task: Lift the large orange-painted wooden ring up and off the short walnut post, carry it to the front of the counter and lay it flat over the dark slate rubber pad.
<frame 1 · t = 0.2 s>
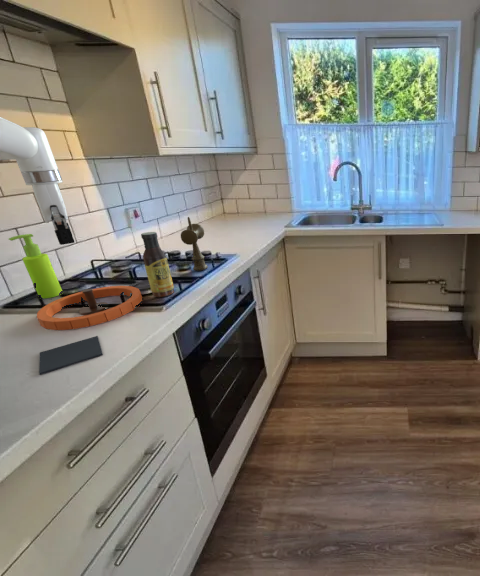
hand: (66, 240, 103), 20 cm above the countertop, tool pointing down, fingers open, 9 cm apart
soap dispenser: (49, 296, 117), on the countertop
pad: (71, 354, 84), on the countertop
ring: (94, 309, 106), on the countertop
kendama: (201, 270, 136), on the countertop
post: (94, 309, 106), on the countertop
sauce bottle: (164, 294, 115), on the countertop
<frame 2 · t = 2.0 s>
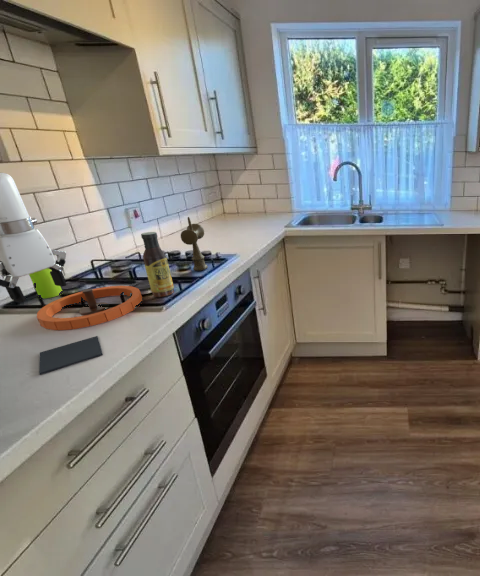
hand: (41, 292, 92), 10 cm above the countertop, tool pointing down, fingers open, 9 cm apart
nothing on the countertop moved.
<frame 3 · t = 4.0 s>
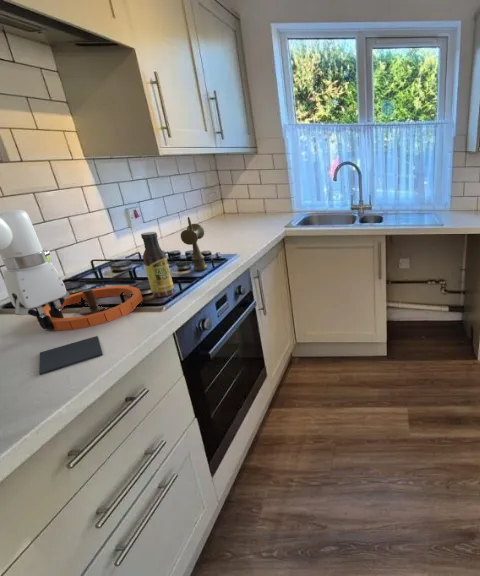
hand: (54, 326, 96), 1 cm above the countertop, tool pointing down, fingers closed on ring, 2 cm apart
ring: (95, 309, 106), on the countertop, touching gripper
everything else where it was.
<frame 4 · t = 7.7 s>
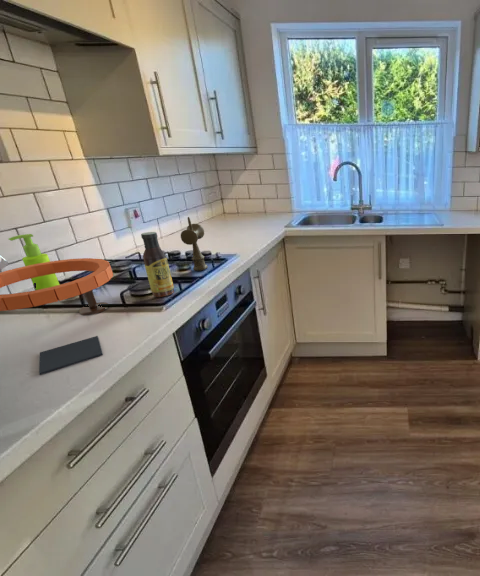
ring: (46, 286, 79), point 16 cm above the countertop, touching gripper
everything else where it was.
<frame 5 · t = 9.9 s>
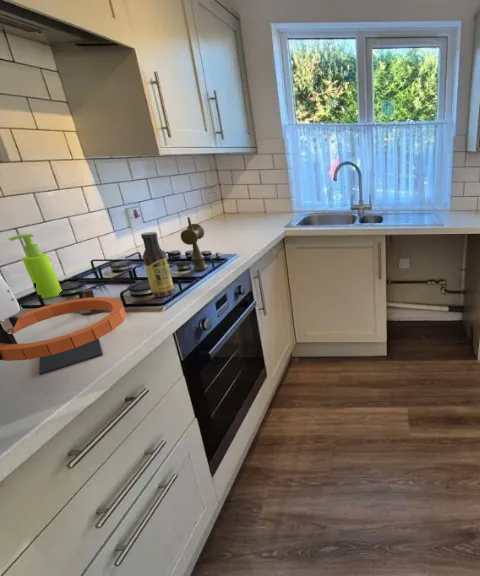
hand: (3, 354, 71), 7 cm above the countertop, tool pointing down, fingers closed on ring
ring: (62, 329, 81), point 7 cm above the countertop, touching gripper
everything else where it was.
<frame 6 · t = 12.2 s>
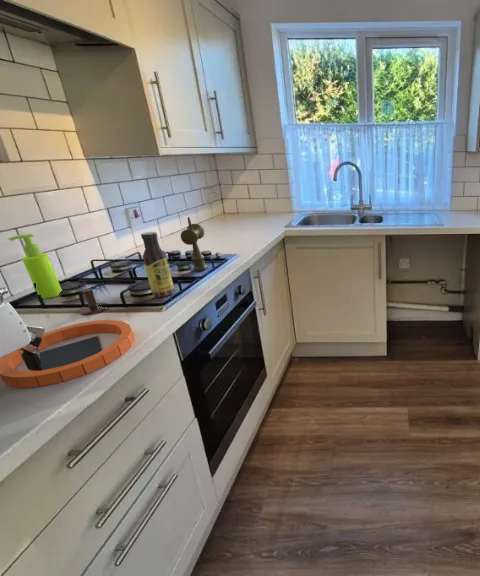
hand: (12, 381, 73), 1 cm above the countertop, tool pointing down, fingers open, 7 cm apart
ring: (73, 354, 84), on the countertop
everything else where it was.
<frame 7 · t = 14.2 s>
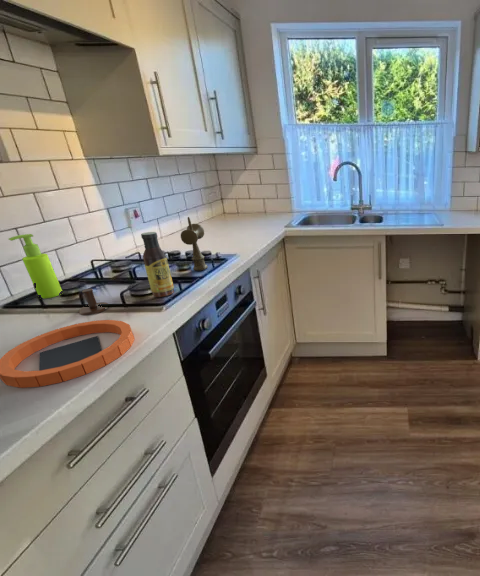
nothing on the countertop moved.
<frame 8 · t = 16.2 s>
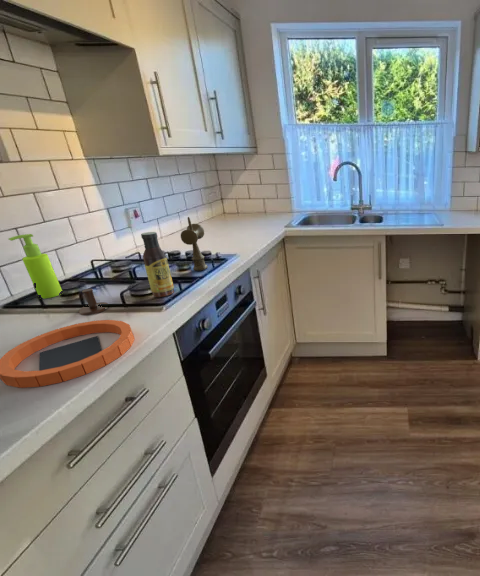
nothing on the countertop moved.
at the end: ring inside the target area on the pad (0.4 cm from its centre), point 0.0 cm above the pad's base; ring tilted 0°; ring touching countertop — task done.
